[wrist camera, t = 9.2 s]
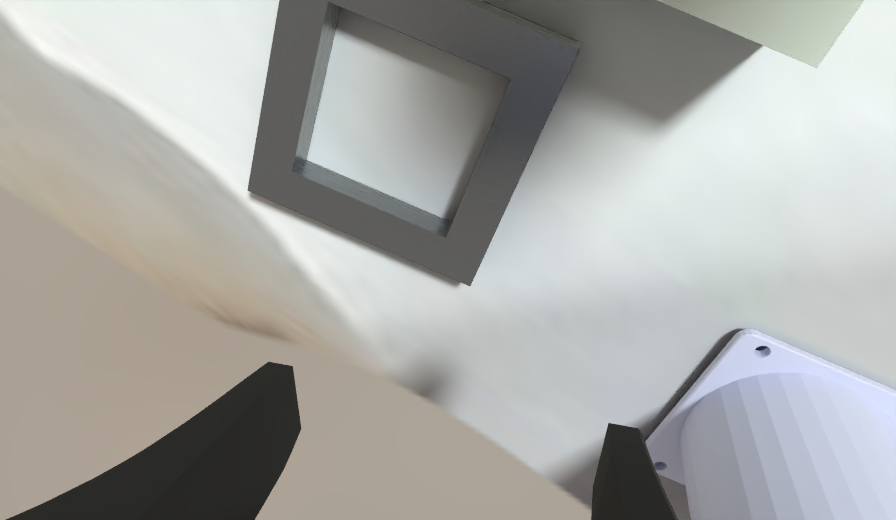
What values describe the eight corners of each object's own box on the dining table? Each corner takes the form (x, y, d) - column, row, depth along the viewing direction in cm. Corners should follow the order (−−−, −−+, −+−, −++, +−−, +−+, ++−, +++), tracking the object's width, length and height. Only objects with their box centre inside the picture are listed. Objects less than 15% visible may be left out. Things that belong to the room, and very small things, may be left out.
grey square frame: (580, 42, 18) (579, 49, 17) (476, 269, 23) (470, 286, 22) (309, -73, 18) (291, -72, 17) (263, 178, 23) (247, 190, 22)
